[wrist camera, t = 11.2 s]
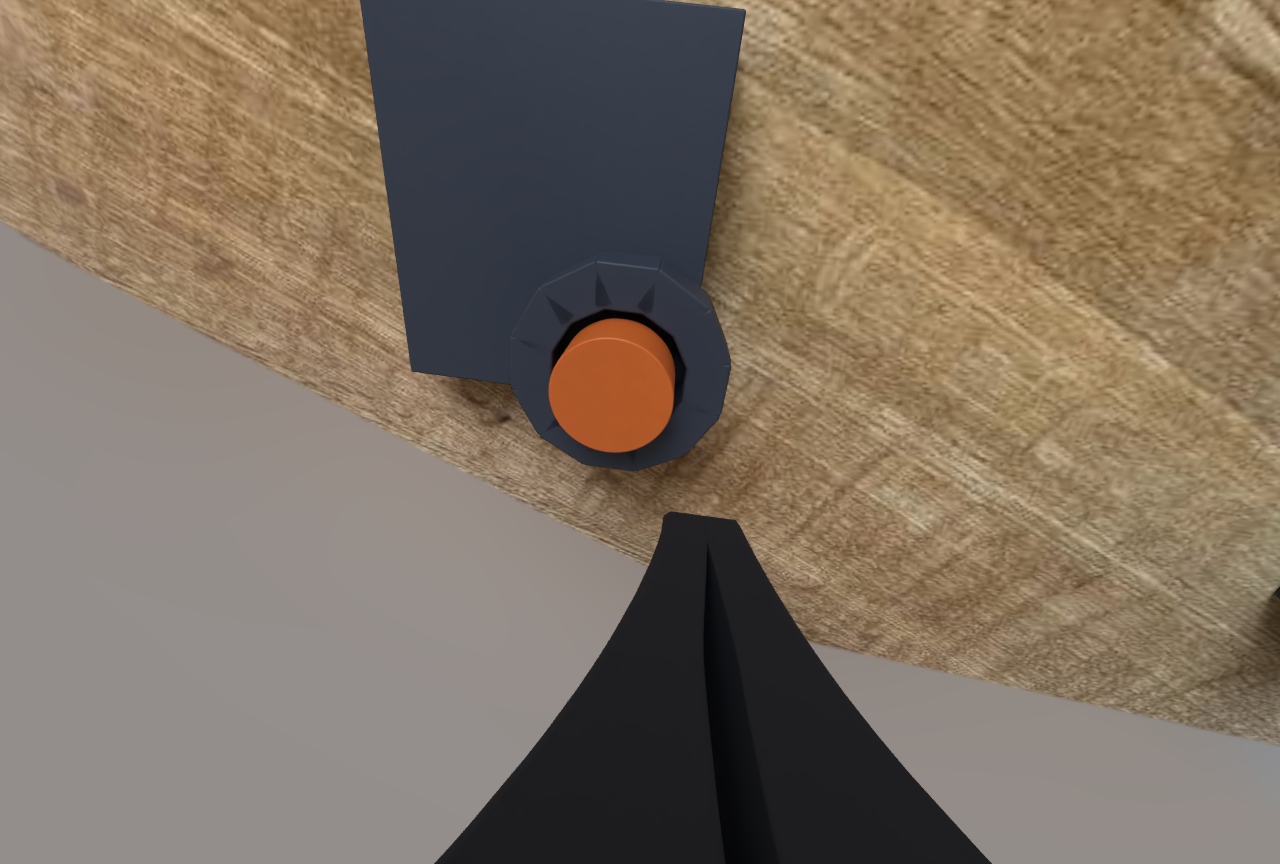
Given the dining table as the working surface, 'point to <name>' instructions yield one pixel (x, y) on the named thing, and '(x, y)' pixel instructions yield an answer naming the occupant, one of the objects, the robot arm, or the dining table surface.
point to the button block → (556, 188)
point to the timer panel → (1278, 594)
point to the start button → (614, 386)
